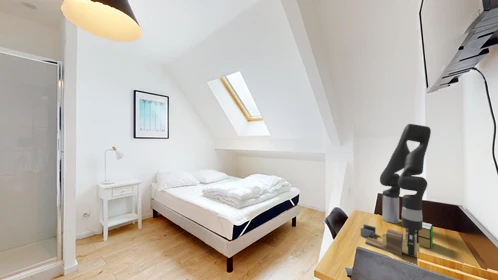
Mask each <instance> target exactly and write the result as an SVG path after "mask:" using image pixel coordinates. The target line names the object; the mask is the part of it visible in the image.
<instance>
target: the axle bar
mask: <svg viewBox="0 0 498 280" xmlns="http://www.w3.org/2000/svg"><path fill="white" fill-rule="evenodd" d="M381 237H382V240H381V241H382V246H384V247H386V233H383V234H382V236H381ZM407 243H408V241H407V240H406V239H404V238H403V239H402V254H405V255H408V247H407ZM409 244H410V245H413V243H410V242H409ZM417 252H419V253H420V246H419V244H418V243H416V244H415V249H414V256H413V257H415V258H418V257H417Z"/></svg>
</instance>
